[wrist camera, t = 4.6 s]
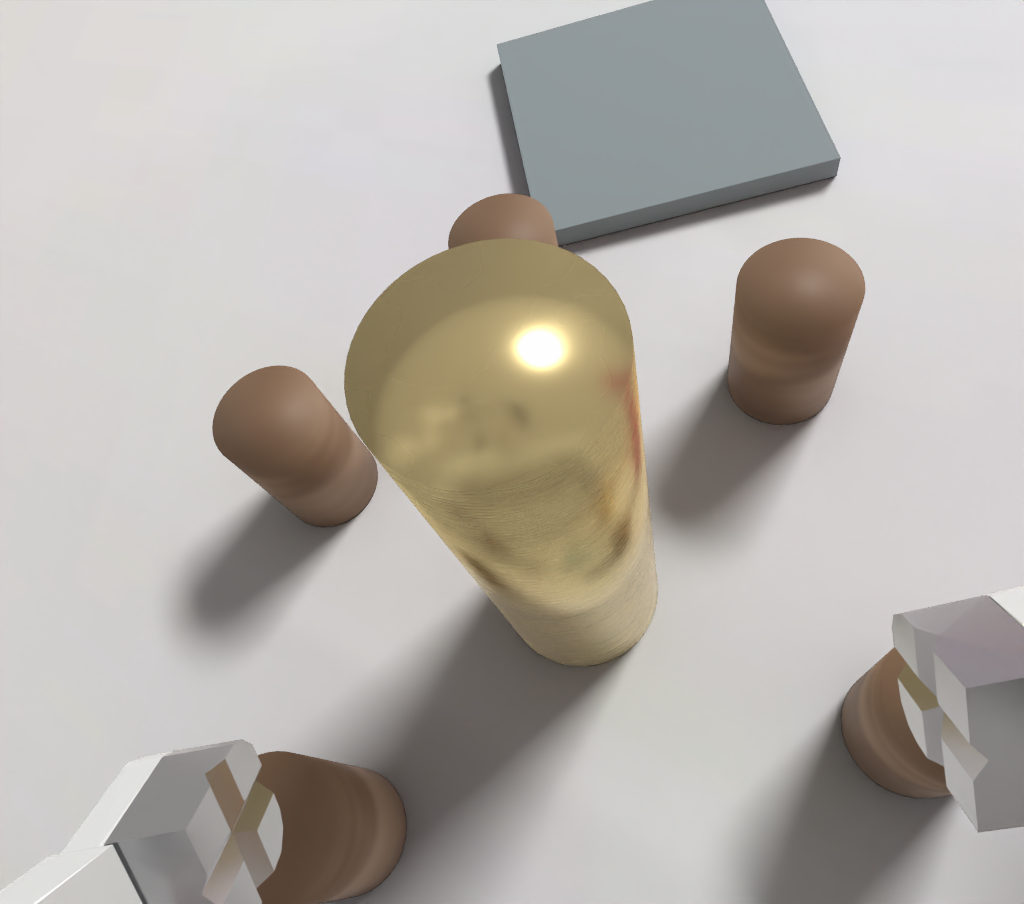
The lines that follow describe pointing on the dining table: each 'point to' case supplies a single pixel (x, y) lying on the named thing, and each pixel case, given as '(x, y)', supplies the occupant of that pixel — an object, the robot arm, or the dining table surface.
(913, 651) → the robot arm
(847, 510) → the dining table surface
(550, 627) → the gold rounded cylinder
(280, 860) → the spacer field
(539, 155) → the mat
